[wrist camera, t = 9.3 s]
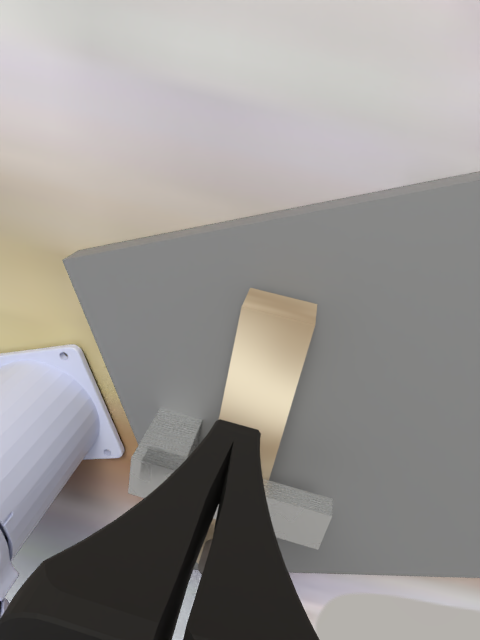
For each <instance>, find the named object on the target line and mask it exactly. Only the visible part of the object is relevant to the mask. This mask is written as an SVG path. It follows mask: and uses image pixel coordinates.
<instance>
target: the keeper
mask: <svg viewBox="0 0 480 640" xmlns="http://www.w3.org/2000/svg"><path fill="white" fill-rule="evenodd" d="M201 425H202V420H201V419H197V418H194V417H190V416H187V415H183V414H179V413H176V412H172V411H169V410H165V409H162V408H160V409H159V410H158V412H157V414H156V416H155V417H154V419H153V421H152V423H151V424H150V426H149V428H148V430H147V431H146V433H145V435H144V437H143V438H142V440H141V442H140V444H139V446H138V447H137V449H136V451H135V453H134V454H133V456H132V458H131V467H130V478H129V490H128V493H129V494H132V495H136V496H139V497H142V498H145V497H147V496H148V495H149V494H150V493H151V492H153V491H154V490H155V489H156V488H157V487H158V486H160V485H161V484H162V483H163V482H164V481H165V480H166V479H167V478H168V477H169V476H170V475H171V474H172V473H173V472H174V471H175V470H176V469H177V468H178V467H179V466H180V465H181V464H182V463H183V462H184V461H185V460H186V459H187V458H188V457H189V456H190V454H191V453H192V452H193V451H194V450H195V449H196V448H197V447H198V442H199V436H200V431H201ZM263 483H264V489H265V495H266V500H267V504H268V509H269V513H270V517H271V521H272V525H273V529H274V532H275V535H276V537H277V538H280V539H283V540H287V541H290V542H293V543H297V544H300V545H304V546H307V547H310V548H314V549H317V550H318V549H319V547H320V544H321V542H322V540H323V537H324V535H325V532H326V530H327V528H328V525H329V523H330V521H331V518H332V499H331V498H328V497H324V496H321V495H317V494H314V493H310V492H307V491H303V490H300V489H297V488H293V487H290V486H286V485H283V484H279V483H276V482H272V481H269V480H265V479H263ZM218 506H219V504H218ZM217 512H218V507H217V510H216V512H215V515H214V517H213V519H216V517H217Z"/></svg>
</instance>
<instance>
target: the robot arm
mask: <svg viewBox="0 0 480 640" xmlns="http://www.w3.org/2000/svg"><path fill="white" fill-rule="evenodd" d="M64 352H65V353H66V354H67V355H68V356H66V355H65V354H64ZM260 437H261V433H260V432H259V430H257V429H254V428H250V427H246V426H243V425H239V424H236V423H232V422H228V421H225V420H221V419H219V420H217V421H216V422H215V423H214V425H213V427H212V428H211V430H210V431H209V433H208V434H207V435H206V437H205V438H204V439H203V440H202V442H201V443H200V444H199V445H198V447H197V448H196V449H195V450H194V451H193V452H192V453H191V454H190V456H189V457H188V458H187V459H186V460H185V461H184V462H183V463H182V464H181V465H180V466H179V467H178V468H177V469H176V470H175V471H174V472H173V473H172V474H171V475H170V476H169V477H168V478H167V479H166V480H165V481H164V482H163V483H162V484H161V485H160V486H158V487H157V488H156V489H155V490H154V491H153V492H151V493H150V494H149V495H148V496H147V497H145V498H144V499H143V500H142V501H140V502H139V503H138V504H137V505H135V506H134V507H133V508H131V509H130V510H128V511H127V512H126V513H124V514H123V515H122V516H120V517H119V518H117V519H116V520H114V521H113V522H112V523H110V524H108V525H107V526H105V527H104V528H102V529H100V530H99V531H97V532H96V533H94V534H92V535H91V536H89V537H88V538H86V539H84V540H82V541H81V542H79V543H77V544H75V545H73V546H72V547H70V548H68V549H66V550H64V551H62V552H60V553H58V554H56V555H54V556H52V557H51V558H49V559H47V560H45V561H43V562H42V563H41V564H40V566H39V567H38V568H37V569H36V570H35V571H34V572H33V573H32V574H31V576H30V577H29V578H28V579H27V580H26V582H25V583H24V584H23V585H22V587H21V588H20V589H19V590H18V592H17V593H16V595H15V596H14V598H13V599H12V601H11V602H10V604H9V602H8V600H7V599H6V598H4V597H5V596H6V594H7V593H8V591H9V590H10V588H11V587H12V585H13V584H14V582H15V581H16V579H17V578H18V576H19V573H18V572H17V570H16V569H15V568H14V567H13V565H12V563H11V561H12V560H13V558H14V557H15V555H16V554H17V552H18V551H19V550H20V548H21V547H22V545H23V544H24V542H25V541H26V540H27V538H28V537H29V535H30V534H31V533H32V531H33V530H34V528H35V527H36V525H37V524H38V523H39V521H40V520H41V518H42V517H43V515H44V514H45V513H46V511H47V510H48V508H49V507H50V505H51V504H52V503H53V501H54V500H55V498H56V497H57V495H58V494H59V493H60V491H61V490H62V488H63V487H64V485H65V484H66V483H67V481H68V480H69V478H70V477H71V475H72V474H73V473H74V471H75V470H76V468H77V467H78V465H79V464H80V463H81V461H82V460H85V459H107V458H120V457H121V456H122V455H123V453H124V451H125V450H124V447H123V444H122V442H121V440H120V437H119V435H118V433H117V430H116V428H115V426H114V424H113V421H112V419H111V417H110V414H109V412H108V410H107V407H106V405H105V403H104V400H103V398H102V396H101V393H100V391H99V389H98V386H97V384H96V382H95V379H94V377H93V375H92V372H91V370H90V368H89V365H88V363H87V361H86V358H85V356H84V354H83V351H82V350H81V348H80V347H78V346H77V345H73V344H71V345H63V346H55V347H48V348H40V349H32V350H25V351H17V352H9V353H1V354H0V640H172V636H173V633H174V630H175V626H176V623H177V619H178V616H179V613H180V609H181V606H182V602H183V599H184V596H185V592H186V589H187V586H188V583H189V580H190V577H191V574H192V571H193V568H194V566H195V563H196V561H197V558H198V556H199V553H200V550H201V548H202V545H203V543H204V540H205V538H206V535H207V533H208V530H209V528H210V525H211V522H212V520H213V517H214V515H215V512H216V510H217V507H218V512H217V517H216V523H215V528H214V533H213V539H212V543H211V546H210V550H209V553H208V557H207V560H206V563H205V567H204V570H203V573H202V577H201V580H200V583H199V587H198V590H197V593H196V596H195V600H194V603H193V606H192V610H191V613H190V616H189V619H188V623H187V626H186V630H185V635H184V639H183V640H319V638H318V636H317V634H316V632H315V631H314V629H313V627H312V625H311V623H310V621H309V619H308V617H307V615H306V612H305V610H304V608H303V606H302V604H301V602H300V599H299V597H298V595H297V593H296V590H295V588H294V585H293V583H292V580H291V578H290V575H289V573H288V570H287V568H286V565H285V563H284V560H283V557H282V554H281V551H280V548H279V545H278V542H277V539H276V535H275V532H274V529H273V525H272V521H271V517H270V513H269V509H268V504H267V500H266V495H265V489H264V483H263V477H262V469H261V458H260ZM218 504H219V506H218Z"/></svg>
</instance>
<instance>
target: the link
mask: <svg viewBox="0 0 480 640" xmlns="http://www.w3.org/2000/svg"><path fill="white" fill-rule="evenodd" d="M316 313H317V304H314V303H310V302H306V301H302V300H298V299H294V298H290V297H286V296H282V295H278V294H274V293H270V292H266V291H262V290H258V289H254V288H250V289H249V292H248V294H247V296H246V298H245V300H244V302H243V305H242V307H241V312H240V317H239V322H238V327H237V332H236V337H235V342H234V347H233V352H232V356H231V361H230V366H229V371H228V376H227V381H226V386H225V391H224V396H223V401H222V406H221V411H220V416H219V419H221V420H225V421H228V422H232V423H236V424H239V425H243V426H246V427H250V428H254V429H257V430H259V432H260V433H261V437H260V458H261V469H262V477H263V479H265V480H269V478H270V475H271V471H272V468H273V465H274V461H275V458H276V455H277V451H278V448H279V445H280V441H281V438H282V435H283V431H284V428H285V425H286V421H287V418H288V415H289V411H290V408H291V405H292V401H293V398H294V395H295V391H296V388H297V384H298V381H299V378H300V374H301V371H302V368H303V364H304V361H305V358H306V354H307V351H308V348H309V344H310V341H311V338H312V334H313V331H314V328H315V323H316ZM215 523H216V519H213V520H212V522H211V525H210V528H209V530H208V533H207V535H206V538H205V540H204V543H203V545H202V548H201V550H200V553H199V556H198V558H197V561H196V562H197V563H198V569H199V571H200V573H201V574H202V573H203V570H204V567H205V563H206V560H207V557H208V553H209V550H210V546H211V543H212V539H213V533H214V528H215Z"/></svg>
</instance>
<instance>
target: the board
mask: <svg viewBox="0 0 480 640" xmlns="http://www.w3.org/2000/svg"><path fill="white" fill-rule="evenodd" d="M62 261H63V263H64V265H65V268H66V270H67V273H68V275H69V277H70V280H71V282H72V285H73V287H74V290H75V292H76V294H77V297H78V299H79V302H80V304H81V307H82V309H83V311H84V314H85V316H86V319H87V321H88V324H89V326H90V328H91V331H92V333H93V336H94V338H95V341H96V343H97V345H98V348H99V350H100V353H101V355H102V358H103V360H104V362H105V365H106V367H107V370H108V372H109V374H110V377H111V379H112V382H113V384H114V387H115V389H116V391H117V394H118V396H119V399H120V401H121V404H122V406H123V408H124V411H125V413H126V416H127V418H128V421H129V423H130V425H131V428H132V430H133V433H134V435H135V438H136V440H137V442H138V445H139V444H140V442H141V440H142V438H143V437H144V435H145V433H146V431H147V430H148V428H149V426H150V424H151V423H152V421H153V419H154V417H155V416H156V414H157V412H158V410H159V409H160V408H162V409H165V410H169V411H172V412H176V413H179V414H183V415H187V416H190V417H194V418H197V419H201V420H202V425H201V431H200V436H199V442H198V445H199V444H200V443H201V442H202V440H203V439H204V438H205V437H206V435H207V434H208V433H209V431H210V430H211V428H212V427H213V425H214V423H215V422H216V421H217V420H219V416H220V411H221V406H222V401H223V396H224V391H225V386H226V381H227V376H228V371H229V366H230V361H231V356H232V352H233V347H234V342H235V337H236V332H237V327H238V322H239V317H240V312H241V307H242V305H243V302H244V300H245V298H246V296H247V294H248V292H249V289H250V288H254V289H258V290H262V291H266V292H270V293H274V294H278V295H282V296H286V297H290V298H294V299H298V300H302V301H306V302H310V303H314V304H317V313H316V323H315V328H314V331H313V334H312V338H311V341H310V344H309V348H308V351H307V354H306V358H305V361H304V364H303V368H302V371H301V374H300V378H299V381H298V384H297V388H296V391H295V395H294V398H293V401H292V405H291V408H290V411H289V415H288V418H287V421H286V425H285V428H284V431H283V435H282V438H281V441H280V445H279V448H278V451H277V455H276V458H275V461H274V465H273V468H272V471H271V475H270V478H269V481H272V482H276V483H279V484H283V485H286V486H290V487H293V488H297V489H300V490H303V491H307V492H310V493H314V494H317V495H321V496H324V497H328V498H331V499H332V518H331V521H330V523H329V525H328V528H327V530H326V532H325V535H324V537H323V540H322V542H321V544H320V547H319V549H318V550H317V549H314V548H310V547H307V546H304V545H300V544H297V543H293V542H290V541H287V540H283V539H280V538H277V537H276V539H277V542H278V545H279V548H280V551H281V554H282V557H283V560H284V563H285V565H286V568H287V570H288V572H293V573H327V574H362V575H396V576H430V577H465V578H480V172H475V173H470V174H465V175H459V176H454V177H449V178H444V179H439V180H434V181H429V182H424V183H419V184H414V185H409V186H403V187H398V188H393V189H388V190H383V191H378V192H373V193H368V194H363V195H358V196H353V197H348V198H342V199H337V200H332V201H327V202H322V203H317V204H312V205H307V206H302V207H297V208H292V209H286V210H281V211H276V212H271V213H266V214H261V215H256V216H251V217H246V218H241V219H236V220H231V221H225V222H220V223H215V224H210V225H205V226H200V227H195V228H190V229H185V230H180V231H175V232H170V233H164V234H159V235H154V236H149V237H144V238H139V239H134V240H129V241H124V242H119V243H114V244H108V245H103V246H98V247H93V248H88V249H83V250H78V251H77V252H75V253H73V254H72V255H70V256H68V257H67V258H65V259H63V260H62ZM193 570H199V569H198V563H197V562H196V563H195V566H194V568H193Z"/></svg>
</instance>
